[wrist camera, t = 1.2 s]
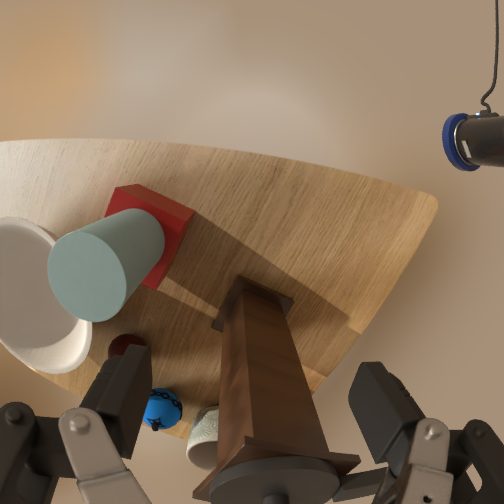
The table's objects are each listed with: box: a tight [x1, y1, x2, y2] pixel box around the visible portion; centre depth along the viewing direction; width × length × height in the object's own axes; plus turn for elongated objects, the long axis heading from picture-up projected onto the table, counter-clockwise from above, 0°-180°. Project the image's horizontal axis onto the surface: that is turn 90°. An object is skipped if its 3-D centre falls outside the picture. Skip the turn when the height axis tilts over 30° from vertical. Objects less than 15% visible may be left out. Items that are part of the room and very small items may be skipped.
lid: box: [209, 456, 387, 504], centre depth 17 cm, size 18×10×2 cm, turn 83°
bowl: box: [0, 217, 92, 374], centre depth 40 cm, size 27×27×10 cm
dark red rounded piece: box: [108, 334, 147, 359], centre depth 46 cm, size 7×8×7 cm
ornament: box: [143, 388, 183, 431], centre depth 48 cm, size 9×9×10 cm
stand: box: [192, 274, 361, 502], centre depth 33 cm, size 10×10×32 cm
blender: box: [48, 184, 195, 322], centre depth 33 cm, size 10×10×23 cm
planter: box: [186, 405, 219, 472], centre depth 49 cm, size 12×12×11 cm
